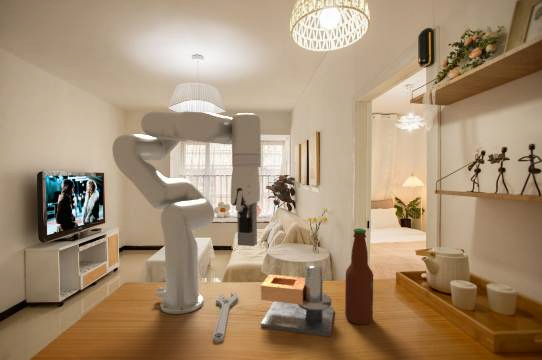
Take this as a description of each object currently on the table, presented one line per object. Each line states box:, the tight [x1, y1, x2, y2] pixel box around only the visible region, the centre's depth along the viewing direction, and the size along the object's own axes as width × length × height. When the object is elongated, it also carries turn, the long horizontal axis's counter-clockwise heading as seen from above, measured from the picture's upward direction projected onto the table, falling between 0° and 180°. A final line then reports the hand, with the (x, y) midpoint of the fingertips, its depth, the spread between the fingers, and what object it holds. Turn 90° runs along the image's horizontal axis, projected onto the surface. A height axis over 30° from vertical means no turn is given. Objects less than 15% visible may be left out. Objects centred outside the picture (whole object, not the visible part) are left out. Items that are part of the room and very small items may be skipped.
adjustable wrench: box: [212, 292, 239, 343], centre depth 84 cm, size 25×6×2 cm, turn 177°
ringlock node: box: [260, 263, 335, 338], centre depth 82 cm, size 19×14×15 cm
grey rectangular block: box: [236, 202, 258, 247], centre depth 79 cm, size 4×2×11 cm, turn 73°
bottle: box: [344, 228, 374, 326], centre depth 82 cm, size 7×7×25 cm
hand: (247, 230), depth 79 cm, fingers closed on grey rectangular block, 2 cm apart
